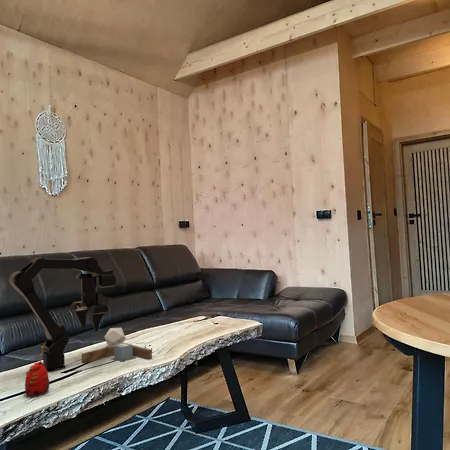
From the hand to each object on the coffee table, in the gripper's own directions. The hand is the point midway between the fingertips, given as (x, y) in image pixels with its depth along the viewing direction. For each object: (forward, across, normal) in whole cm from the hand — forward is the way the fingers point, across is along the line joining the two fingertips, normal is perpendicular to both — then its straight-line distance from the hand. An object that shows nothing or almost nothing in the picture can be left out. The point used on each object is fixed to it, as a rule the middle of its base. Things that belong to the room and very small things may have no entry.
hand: (90, 329), depth 163 cm
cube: (+12, -9, -9) cm, 17 cm away
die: (+12, +10, -18) cm, 24 cm away
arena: (+12, -10, -6) cm, 16 cm away
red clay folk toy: (+12, -18, +29) cm, 36 cm away
